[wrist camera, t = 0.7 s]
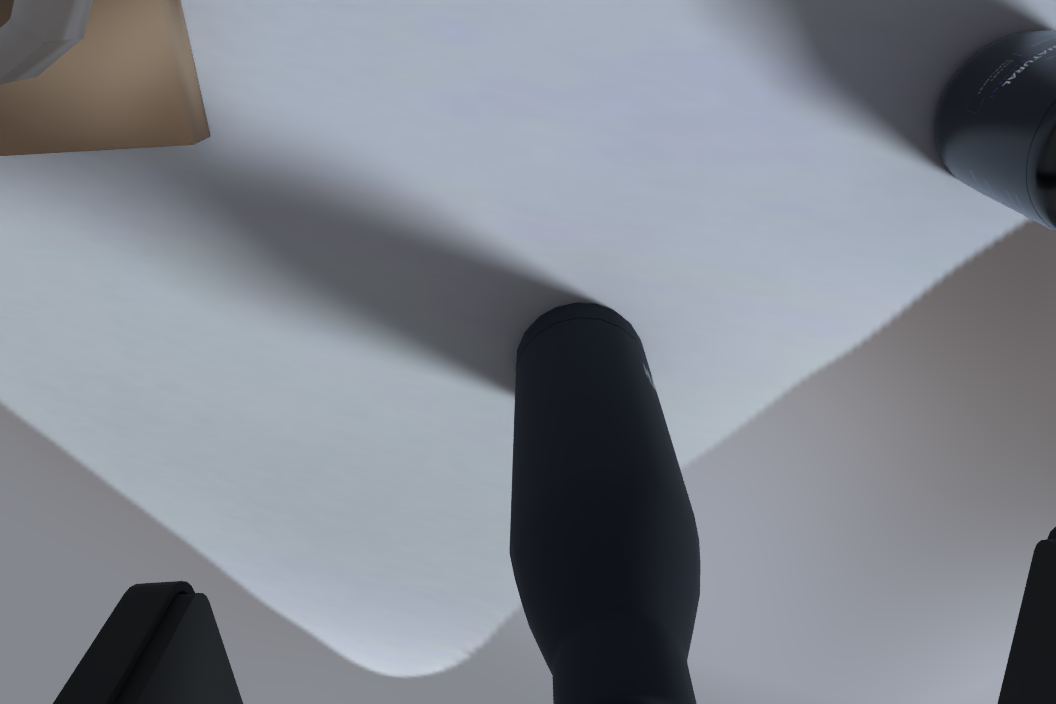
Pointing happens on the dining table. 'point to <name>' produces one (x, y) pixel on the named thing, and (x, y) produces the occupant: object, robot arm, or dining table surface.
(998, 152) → the supplement bottle
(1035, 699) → the robot arm
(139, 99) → the socket base
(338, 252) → the dining table surface
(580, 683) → the black water bottle
